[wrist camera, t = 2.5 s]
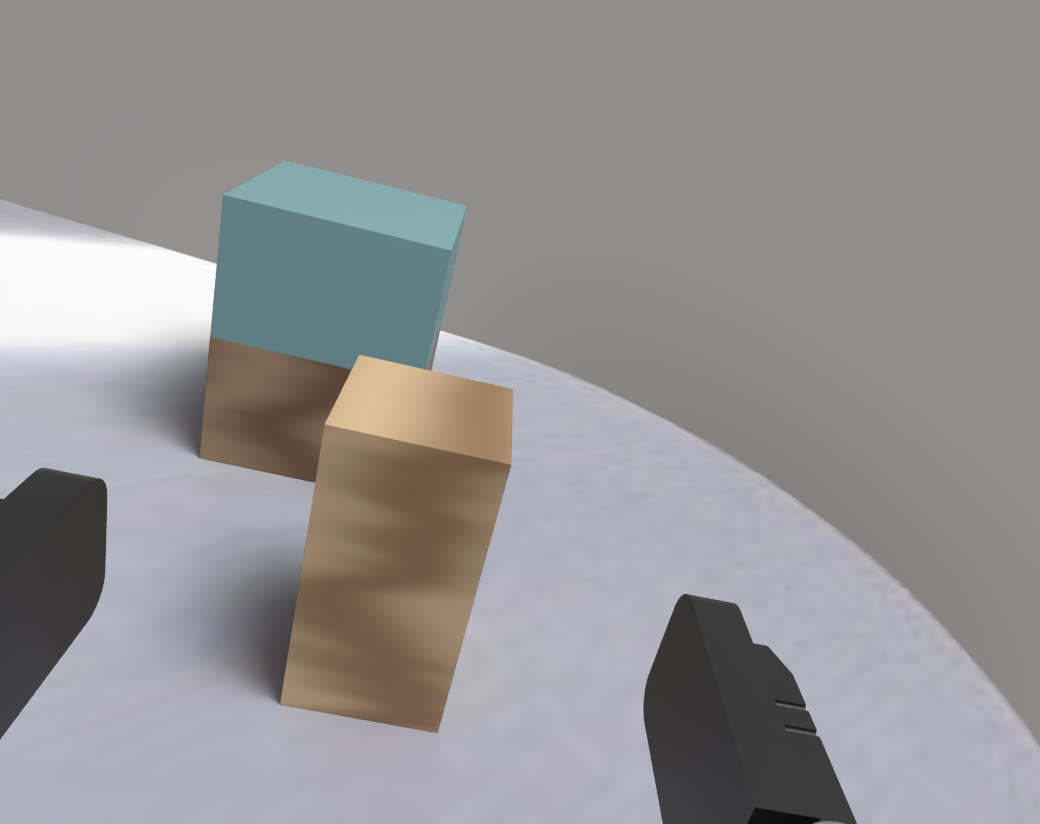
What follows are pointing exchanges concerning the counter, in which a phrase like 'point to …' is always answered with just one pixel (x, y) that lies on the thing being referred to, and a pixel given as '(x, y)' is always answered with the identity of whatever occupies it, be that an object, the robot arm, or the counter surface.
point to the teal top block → (334, 267)
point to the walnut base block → (268, 408)
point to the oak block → (396, 542)
